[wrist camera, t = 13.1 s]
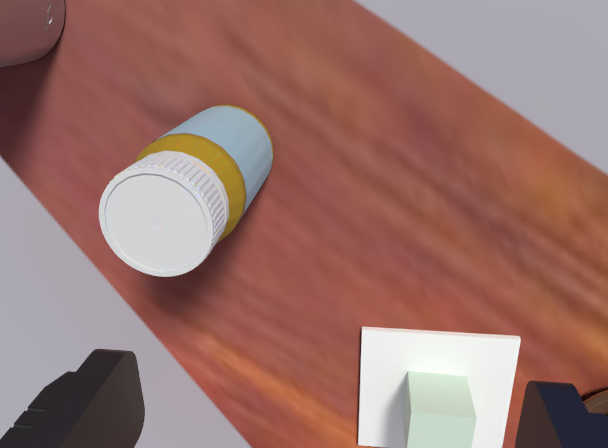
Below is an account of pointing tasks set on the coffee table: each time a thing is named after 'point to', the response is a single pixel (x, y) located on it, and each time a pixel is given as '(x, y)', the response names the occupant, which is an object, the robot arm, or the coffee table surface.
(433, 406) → the sage cube
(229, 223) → the bottle
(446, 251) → the coffee table surface
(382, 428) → the mat
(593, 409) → the cup and saucer
